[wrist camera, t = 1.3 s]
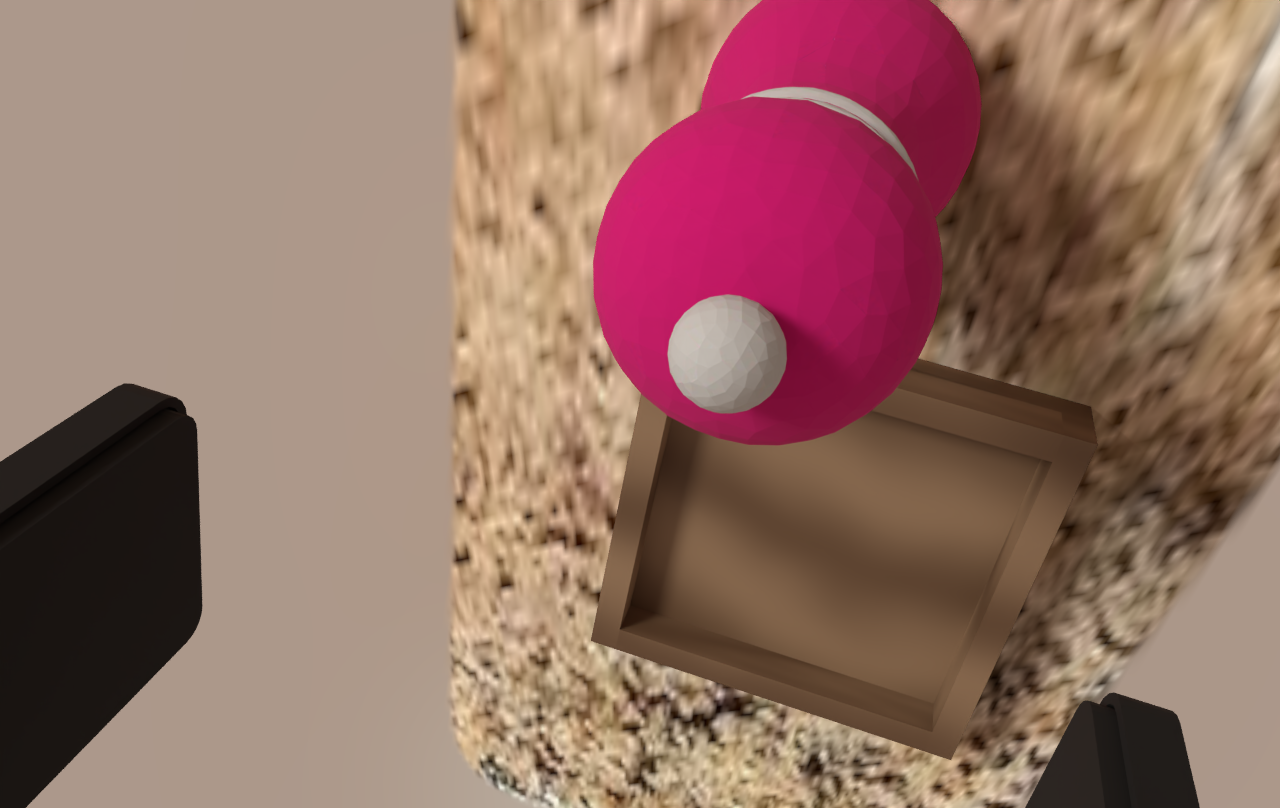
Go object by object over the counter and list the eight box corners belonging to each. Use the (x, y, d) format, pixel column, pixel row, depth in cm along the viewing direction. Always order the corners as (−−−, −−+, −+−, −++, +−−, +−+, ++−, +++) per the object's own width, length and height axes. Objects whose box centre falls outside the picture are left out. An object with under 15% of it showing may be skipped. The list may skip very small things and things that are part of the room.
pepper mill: (1019, -11, 30) (1067, 214, 13) (933, 230, 34) (885, 647, 17) (767, -73, 31) (512, 61, 14) (710, 167, 35) (454, 503, 18)
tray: (675, 290, 37) (656, 319, 35) (1090, 406, 35) (1098, 444, 33) (609, 601, 44) (590, 640, 42) (952, 712, 42) (950, 760, 40)
